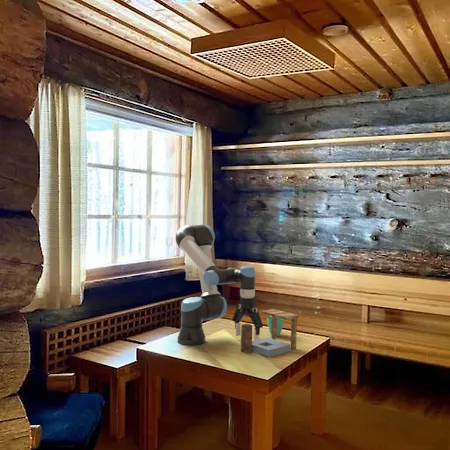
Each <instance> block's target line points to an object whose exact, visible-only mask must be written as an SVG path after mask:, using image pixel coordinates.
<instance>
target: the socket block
mask: <svg viewBox="0 0 450 450" xmlns="http://www.w3.org/2000/svg"><path fill="white" fill-rule="evenodd" d="M252 352H253V353H256V354H258V355H262V356H265V357H268V358H271V357H274V356H278V355H281V354H285V353H288V352H291V343H287V342H284V341H281V340H278V339H277V340H275V339H272V338H271V337H265V338H264V337H263V338H261V339H260V338H259V341H256V342H255V341H254V340H252Z"/></svg>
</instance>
